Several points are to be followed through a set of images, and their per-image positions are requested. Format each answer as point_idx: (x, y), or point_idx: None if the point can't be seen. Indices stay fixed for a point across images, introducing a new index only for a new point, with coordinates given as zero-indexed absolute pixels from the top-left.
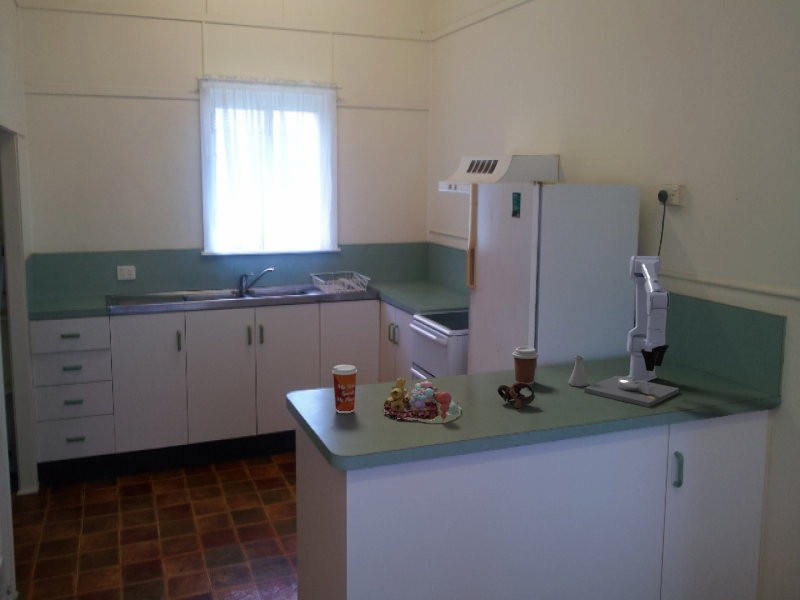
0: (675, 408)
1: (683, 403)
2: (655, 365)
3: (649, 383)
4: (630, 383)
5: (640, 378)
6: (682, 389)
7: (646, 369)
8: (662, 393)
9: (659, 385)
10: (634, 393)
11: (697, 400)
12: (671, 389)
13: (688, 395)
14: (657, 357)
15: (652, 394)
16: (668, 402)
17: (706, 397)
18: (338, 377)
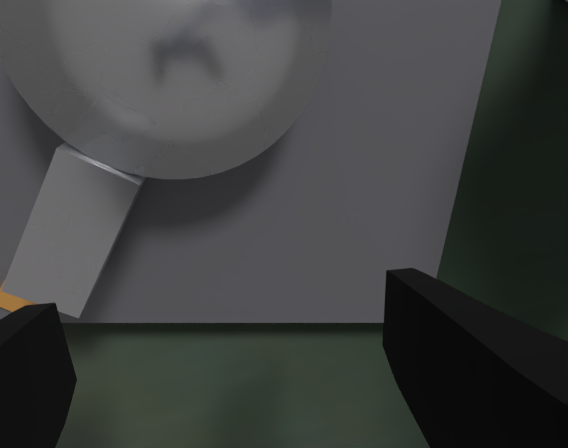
0: None
1: (193, 409)
2: (388, 289)
3: (442, 94)
4: (5, 60)
5: (305, 67)
6: (506, 290)
7: (13, 316)
8: (212, 294)
9: (425, 188)
10: (21, 120)
11: (314, 433)
12: (365, 297)
13: (387, 365)
14: (448, 397)
15: (125, 251)
16: (141, 344)
17: (406, 440)
18: None
